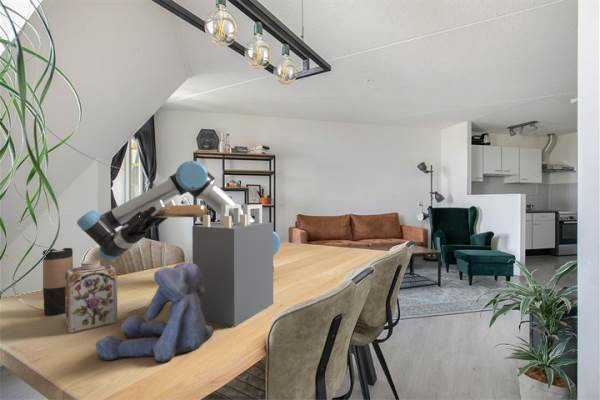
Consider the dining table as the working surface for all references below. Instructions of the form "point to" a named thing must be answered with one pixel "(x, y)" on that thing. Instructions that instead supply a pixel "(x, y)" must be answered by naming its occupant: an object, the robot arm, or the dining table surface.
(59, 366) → the dining table surface
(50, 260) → the travel mug
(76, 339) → the dining table surface
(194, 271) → the elephant
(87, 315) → the decorative jar
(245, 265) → the grey pedestal with pegs
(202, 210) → the copper tube
